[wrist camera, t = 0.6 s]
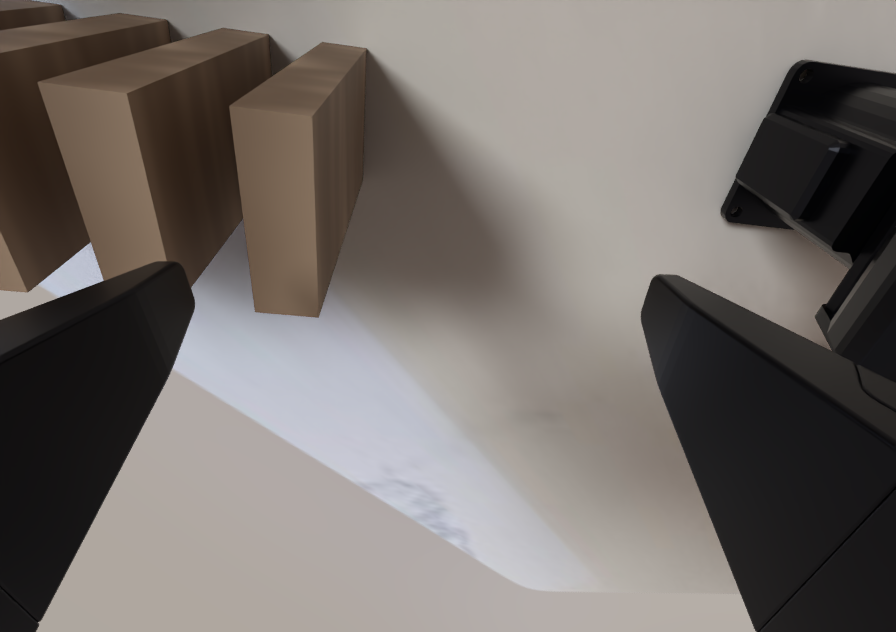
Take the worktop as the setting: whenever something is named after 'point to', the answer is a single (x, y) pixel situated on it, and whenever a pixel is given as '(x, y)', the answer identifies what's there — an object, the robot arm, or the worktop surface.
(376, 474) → the worktop surface
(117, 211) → the domino
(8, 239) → the domino
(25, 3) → the domino
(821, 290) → the worktop surface
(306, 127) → the domino
